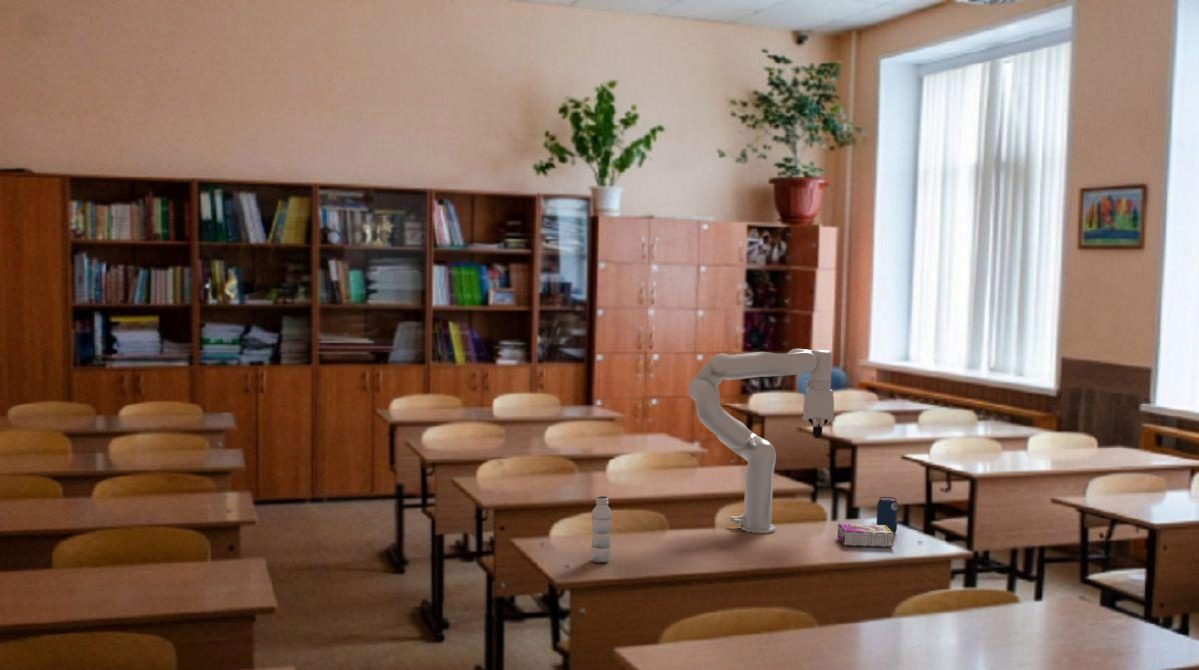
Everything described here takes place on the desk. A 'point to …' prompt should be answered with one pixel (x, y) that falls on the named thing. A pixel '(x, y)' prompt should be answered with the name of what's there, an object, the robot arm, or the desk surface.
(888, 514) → the soda can
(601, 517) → the plastic bottle
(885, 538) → the candy bar box
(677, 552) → the desk surface
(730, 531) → the desk surface
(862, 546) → the mat
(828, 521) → the desk surface
